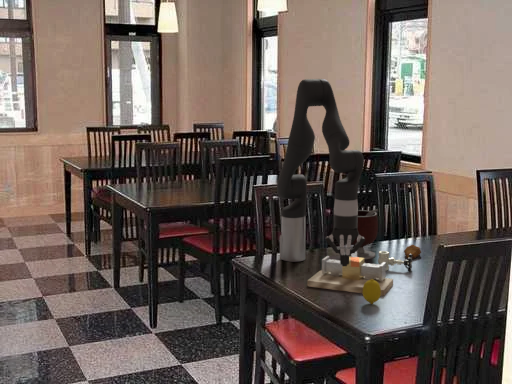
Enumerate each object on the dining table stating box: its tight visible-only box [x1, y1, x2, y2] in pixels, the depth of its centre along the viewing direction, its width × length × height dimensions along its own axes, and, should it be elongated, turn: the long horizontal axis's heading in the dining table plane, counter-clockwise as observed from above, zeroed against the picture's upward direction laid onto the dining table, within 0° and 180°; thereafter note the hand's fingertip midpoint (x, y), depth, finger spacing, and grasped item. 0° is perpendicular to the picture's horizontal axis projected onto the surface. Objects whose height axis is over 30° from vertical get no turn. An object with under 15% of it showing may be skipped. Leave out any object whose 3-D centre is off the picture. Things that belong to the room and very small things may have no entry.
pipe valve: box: [321, 255, 387, 281], centre depth 215 cm, size 21×6×8 cm, turn 65°
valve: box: [377, 250, 413, 273], centre depth 229 cm, size 7×7×12 cm
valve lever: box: [351, 250, 359, 267], centre depth 207 cm, size 17×3×2 cm, turn 173°
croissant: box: [403, 244, 422, 261], centre depth 248 cm, size 14×7×5 cm, turn 156°
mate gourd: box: [344, 208, 379, 260], centre depth 248 cm, size 16×14×20 cm
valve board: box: [307, 269, 394, 297], centre depth 212 cm, size 26×13×2 cm, turn 65°
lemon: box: [362, 279, 381, 305], centre depth 194 cm, size 6×6×8 cm
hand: (344, 265), depth 202 cm, fingers closed
